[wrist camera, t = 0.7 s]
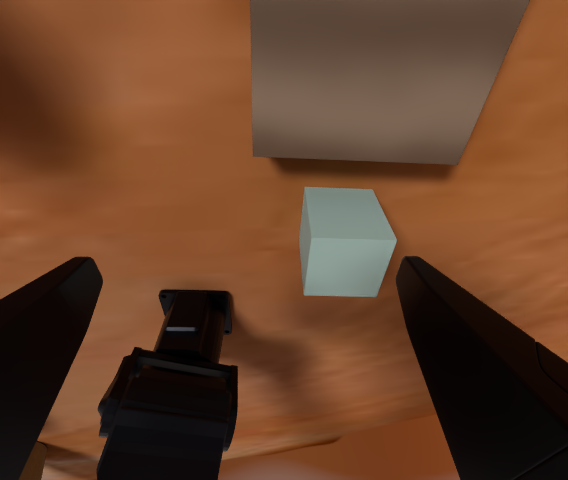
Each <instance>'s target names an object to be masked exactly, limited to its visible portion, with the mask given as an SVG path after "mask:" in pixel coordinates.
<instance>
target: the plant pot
mask: <svg viewBox="0 0 568 480" xmlns="http://www.w3.org/2000/svg"><path fill="white" fill-rule="evenodd" d="M46 451H47V448H46V446H45V445H43V444H41V443H39V442H37V441H36V443H35V445H34V448H33V450H32V452H31V454H30V456H29V458H28V461H27V463H26V465H25V467H24V469H23V471H22V474H21V476H20V478H19V480H41V478H42V473H43V468H44V463H45V457H46Z"/></svg>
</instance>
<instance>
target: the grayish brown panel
mask: <svg viewBox="0 0 568 480" xmlns="http://www.w3.org/2000/svg"><path fill="white" fill-rule="evenodd" d="M529 1H530V0H250V14H251V73H252V131H253V156H254V157H279V158H303V159H328V160H352V161H377V162H401V163H426V164H450V165H458V162H459V160H460V158H461V156H462V153H463V151H464V149H465V146H466V144H467V142H468V140H469V137H470V135H471V133H472V131H473V128H474V126H475V124H476V121H477V119H478V117H479V115H480V112H481V110H482V108H483V105H484V103H485V101H486V99H487V96H488V94H489V92H490V89H491V87H492V85H493V83H494V80H495V78H496V76H497V74H498V71H499V69H500V67H501V64H502V62H503V60H504V58H505V55H506V53H507V51H508V48H509V46H510V44H511V42H512V39H513V37H514V35H515V33H516V30H517V28H518V26H519V23H520V21H521V19H522V17H523V14H524V12H525V10H526V7H527V5H528V3H529Z"/></svg>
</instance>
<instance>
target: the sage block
mask: <svg viewBox="0 0 568 480" xmlns="http://www.w3.org/2000/svg"><path fill="white" fill-rule="evenodd" d="M396 242H397V239H396V237H395V235H394V233H393V231H392V229H391V227H390V225H389V223H388V221H387V219H386V216H385V214H384V212H383V210H382V208H381V206H380V204H379V202H378V200H377V198H376V196H375V194H374V192H373V190H372V189H348V188H321V187H305V189H304V198H303V208H302V218H301V227H300V237H299V244H300V256H301V268H302V280H303V293H304V295H310V296H355V297H377V294H378V291H379V288H380V286H381V283H382V280H383V277H384V275H385V272H386V269H387V267H388V264H389V261H390V258H391V256H392V253H393V250H394V247H395V245H396Z"/></svg>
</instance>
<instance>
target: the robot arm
mask: <svg viewBox="0 0 568 480" xmlns="http://www.w3.org/2000/svg"><path fill="white" fill-rule="evenodd" d="M102 284H103V279H102V275H101V273H100V271H99V269H98V267H97V265H96V263H95V261H94V260H93V259H92V258H91V257H74V258H72V259H70V260H69V261H67V262H65V263H63V264H62V265H60V266H58V267H56V268H55V269H53V270H51V271H49V272H48V273H46V274H44V275H42V276H41V277H39V278H37V279H35V280H34V281H32V282H30V283H28V284H27V285H25V286H23V287H21V288H20V289H18V290H16V291H14V292H13V293H11V294H9V295H7V296H6V297H4V298H2V299H0V480H19V478H20V476H21V474H22V471H23V469H24V467H25V465H26V463H27V461H28V458H29V456H30V454H31V452H32V450H33V448H34V445H35V443H36V441H37V439H38V437H39V435H40V432H41V430H42V428H43V426H44V424H45V422H46V419H47V417H48V415H49V413H50V411H51V409H52V406H53V404H54V402H55V400H56V398H57V396H58V393H59V391H60V389H61V387H62V385H63V383H64V380H65V378H66V376H67V374H68V372H69V370H70V367H71V365H72V363H73V361H74V359H75V357H76V354H77V352H78V350H79V348H80V346H81V344H82V341H83V339H84V337H85V334H86V332H87V329H88V327H89V324H90V321H91V318H92V315H93V312H94V309H95V306H96V303H97V300H98V297H99V294H100V291H101V288H102ZM396 285H397V289H398V294H399V298H400V302H401V307H402V311H403V315H404V320H405V324H406V328H407V331H408V334H409V337H410V340H411V343H412V346H413V348H414V351H415V354H416V357H417V360H418V362H419V365H420V368H421V371H422V374H423V376H424V379H425V382H426V385H427V388H428V390H429V393H430V396H431V399H432V402H433V404H434V407H435V410H436V413H437V416H438V418H439V421H440V424H441V427H442V429H443V432H444V435H445V438H446V441H447V443H448V446H449V449H450V452H451V455H452V457H453V460H454V463H455V466H456V469H457V471H458V474H459V477H460V480H568V362H566V361H565V360H563V359H562V358H560V357H559V356H557V355H556V354H555V353H553V352H552V351H550V350H549V349H548V348H546V347H545V346H543V345H542V344H541V343H539V342H535V339H533V338H532V337H531V336H529V335H528V334H526V333H525V332H524V331H522V330H521V329H519V328H518V327H517V326H515V325H514V324H512V323H511V322H510V321H508V320H507V319H505V318H504V317H503V316H501V315H500V314H498V313H497V312H496V311H494V310H493V309H491V308H490V307H489V306H487V305H486V304H484V303H483V302H482V301H480V300H479V299H477V298H476V297H475V296H473V295H472V294H471V293H469V292H468V291H466V290H465V289H464V288H462V287H461V286H459V285H458V284H457V283H455V282H454V281H452V280H451V279H450V278H448V277H447V276H445V275H444V274H443V273H441V272H440V271H438V270H437V269H436V268H434V267H433V266H431V265H430V264H429V263H427V262H426V261H424V260H423V259H422V258H420V257H418V256H405V257H404V258H403V259H402V261H401V264H400V267H399V270H398V273H397V276H396ZM159 299H160V302H161V306H162V309H163V312H164V315H165V319H164V322H163V325H162V328H161V331H160V333H159V336H158V339H157V342H156V345H155V347H154V350H153V351H149V350H143V349H142V348H139V347H135V348H134V350H133V352H132V354H131V355H128V356H125V357H124V358H123V360H122V363H121V365H120V367H119V370H118V372H117V374H116V376H115V378H114V380H113V381H112V383H111V385H110V386H109V388H108V390H107V391H106V393H105V394H104V396H103V398H102V399H101V401H100V403H99V406H98V411H99V413H100V416H101V422H100V425H101V428H100V432H99V437H103V438H107V441H106V444H105V446H104V449H103V452H102V455H101V458H100V461H99V463H98V467H97V480H218V473H219V468H220V463H221V458H222V453H223V451H224V452H226V451H227V450H228V448H229V446H230V444H231V441H232V438H233V434H234V430H235V425H236V418H237V407H238V366H234V365H231V366H228V365H223V364H219V358H220V352H221V346H222V340H223V334H224V335H228V334H231V333H232V323H231V313H230V303H229V294H228V293H227V292H225V291H199V290H161V291H160V293H159Z"/></svg>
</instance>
